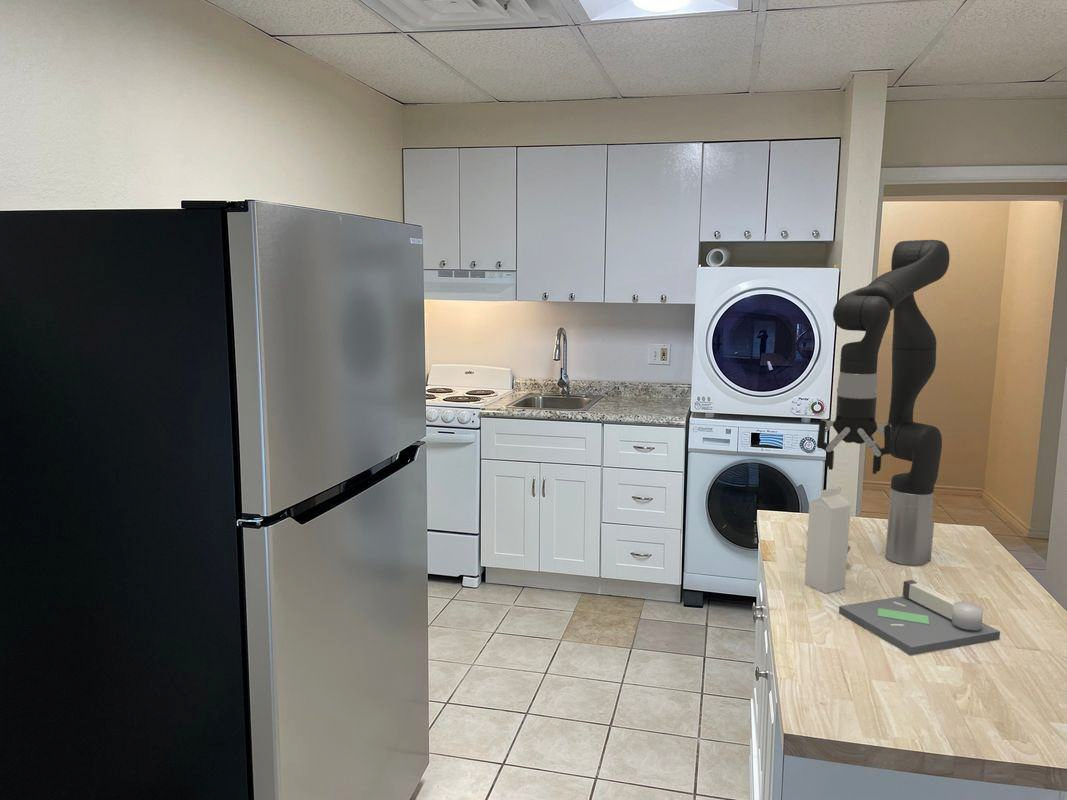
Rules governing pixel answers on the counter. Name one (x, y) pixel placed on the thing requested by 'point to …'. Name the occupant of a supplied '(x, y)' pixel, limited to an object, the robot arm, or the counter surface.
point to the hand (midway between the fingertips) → (852, 470)
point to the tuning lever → (945, 606)
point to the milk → (827, 542)
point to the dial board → (913, 625)
